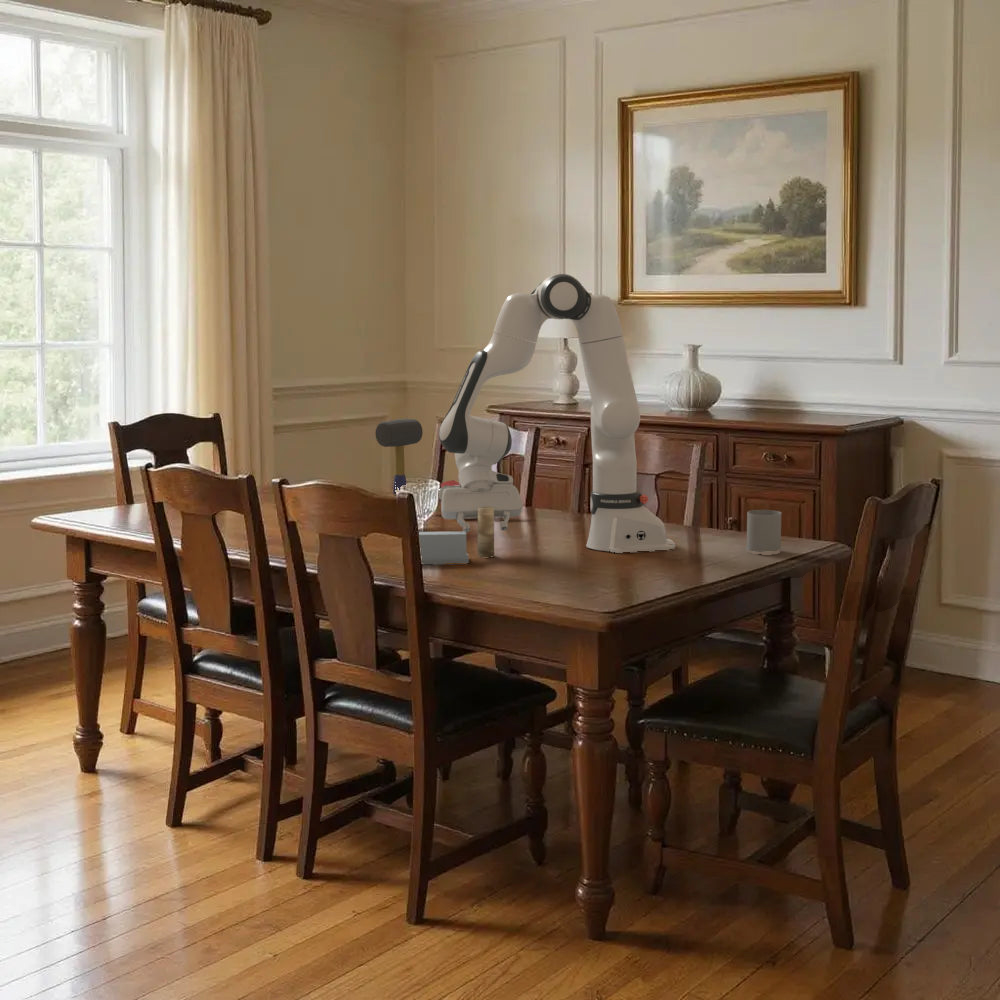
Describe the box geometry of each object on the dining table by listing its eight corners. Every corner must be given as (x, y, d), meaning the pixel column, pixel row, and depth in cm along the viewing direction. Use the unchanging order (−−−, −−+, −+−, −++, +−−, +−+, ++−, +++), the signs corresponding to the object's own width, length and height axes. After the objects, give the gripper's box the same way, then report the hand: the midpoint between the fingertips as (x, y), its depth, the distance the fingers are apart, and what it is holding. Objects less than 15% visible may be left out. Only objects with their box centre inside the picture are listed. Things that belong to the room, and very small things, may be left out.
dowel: (493, 554, 345) (493, 506, 343) (494, 557, 341) (494, 509, 339) (477, 554, 345) (477, 507, 343) (478, 557, 341) (477, 509, 339)
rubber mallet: (393, 531, 379) (391, 421, 375) (374, 528, 384) (372, 419, 380) (426, 525, 388) (424, 418, 384) (408, 522, 393) (406, 416, 389)
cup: (784, 550, 348) (785, 511, 347) (776, 556, 341) (777, 516, 339) (751, 548, 352) (751, 509, 350) (742, 553, 344) (743, 513, 343)
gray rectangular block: (468, 558, 340) (467, 530, 339) (468, 563, 333) (468, 535, 332) (406, 559, 340) (406, 531, 338) (406, 564, 333) (405, 536, 332)
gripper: (438, 478, 345) (445, 523, 337) (518, 476, 349) (527, 520, 341) (435, 493, 350) (442, 538, 342) (514, 491, 354) (523, 535, 346)
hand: (485, 529), depth 342 cm, fingers open, 8 cm apart
